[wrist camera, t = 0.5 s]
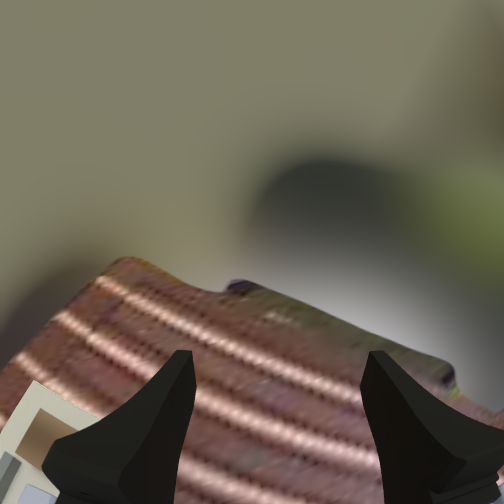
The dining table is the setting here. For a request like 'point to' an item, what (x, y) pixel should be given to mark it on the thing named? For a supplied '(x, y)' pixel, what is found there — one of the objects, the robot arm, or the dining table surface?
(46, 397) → the board
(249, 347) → the dining table surface
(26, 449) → the walnut block
